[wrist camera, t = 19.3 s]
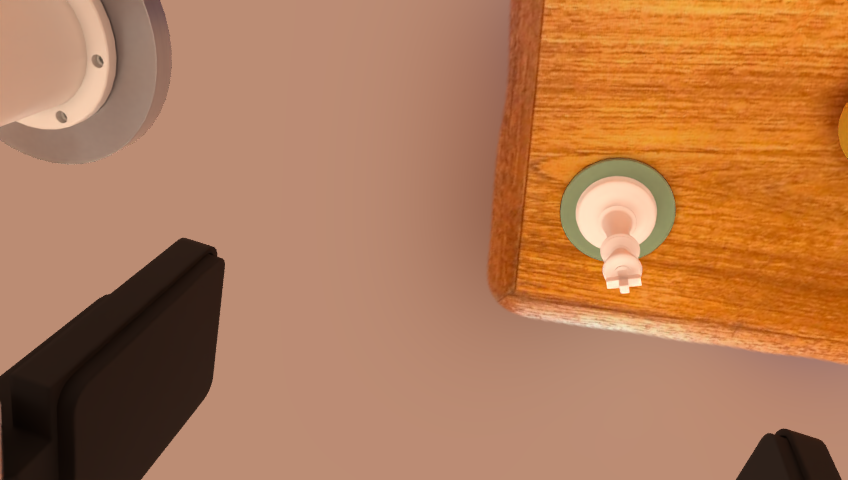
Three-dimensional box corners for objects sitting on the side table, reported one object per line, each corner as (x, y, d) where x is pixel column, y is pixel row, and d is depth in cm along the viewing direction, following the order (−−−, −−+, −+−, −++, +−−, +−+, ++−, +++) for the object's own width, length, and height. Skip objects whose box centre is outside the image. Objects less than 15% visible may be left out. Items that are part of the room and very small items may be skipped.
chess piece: (660, 243, 43) (680, 326, 34) (581, 252, 44) (581, 335, 36) (652, 170, 41) (671, 238, 32) (570, 182, 43) (567, 251, 34)
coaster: (546, 241, 45) (545, 244, 45) (581, 144, 42) (581, 146, 41) (649, 273, 44) (650, 276, 44) (693, 176, 41) (694, 178, 41)
